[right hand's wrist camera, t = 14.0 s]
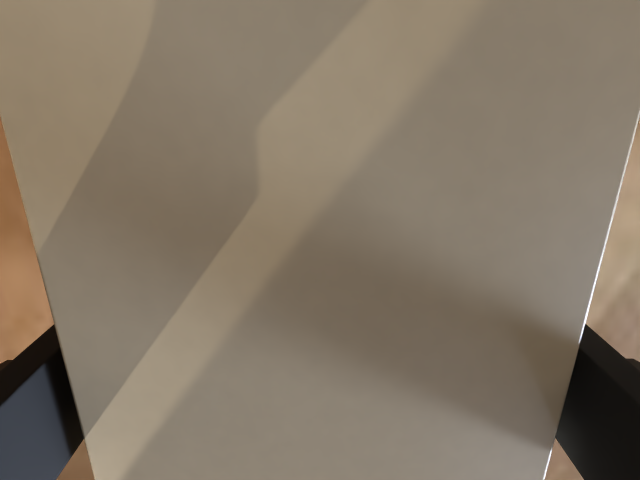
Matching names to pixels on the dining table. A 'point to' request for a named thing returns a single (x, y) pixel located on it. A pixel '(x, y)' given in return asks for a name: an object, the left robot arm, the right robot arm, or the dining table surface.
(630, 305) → the dining table surface
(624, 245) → the dining table surface
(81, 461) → the dining table surface
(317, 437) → the cabinet
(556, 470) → the dining table surface
